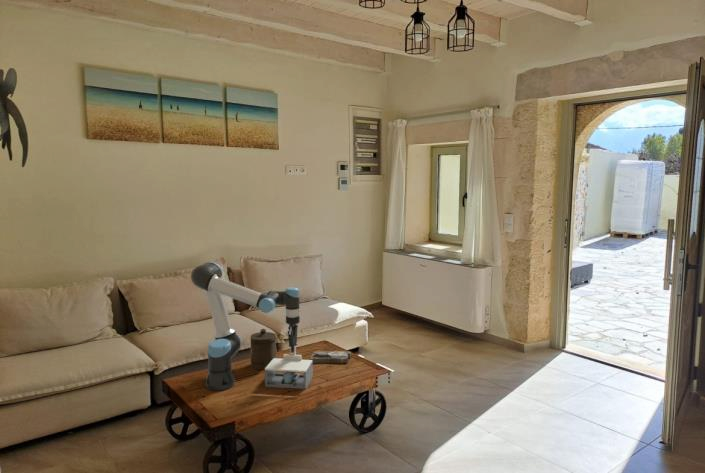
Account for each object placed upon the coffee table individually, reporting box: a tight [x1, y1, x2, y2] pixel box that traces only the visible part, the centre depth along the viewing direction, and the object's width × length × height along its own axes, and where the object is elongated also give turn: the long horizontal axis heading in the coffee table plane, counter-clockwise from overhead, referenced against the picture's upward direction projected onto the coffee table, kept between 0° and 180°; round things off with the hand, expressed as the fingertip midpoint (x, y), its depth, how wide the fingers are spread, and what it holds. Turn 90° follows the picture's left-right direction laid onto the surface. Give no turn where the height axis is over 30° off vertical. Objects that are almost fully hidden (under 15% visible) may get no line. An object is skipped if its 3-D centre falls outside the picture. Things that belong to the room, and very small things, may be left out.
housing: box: [264, 362, 314, 390], centre depth 256 cm, size 22×16×10 cm
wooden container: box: [250, 328, 277, 371], centre depth 281 cm, size 15×15×22 cm
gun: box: [308, 350, 352, 365], centre depth 291 cm, size 4×24×15 cm
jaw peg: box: [283, 371, 293, 384], centre depth 252 cm, size 5×5×6 cm
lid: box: [264, 353, 313, 373], centre depth 255 cm, size 22×15×3 cm
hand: (293, 357), depth 264 cm, fingers closed
